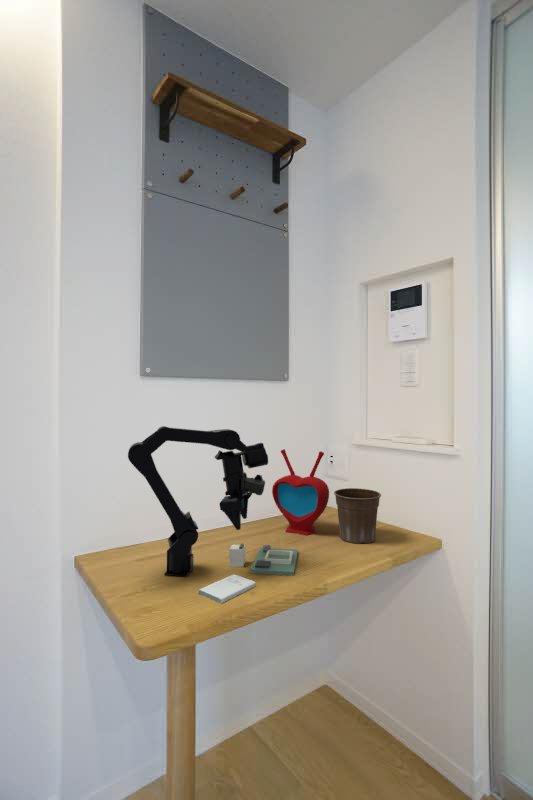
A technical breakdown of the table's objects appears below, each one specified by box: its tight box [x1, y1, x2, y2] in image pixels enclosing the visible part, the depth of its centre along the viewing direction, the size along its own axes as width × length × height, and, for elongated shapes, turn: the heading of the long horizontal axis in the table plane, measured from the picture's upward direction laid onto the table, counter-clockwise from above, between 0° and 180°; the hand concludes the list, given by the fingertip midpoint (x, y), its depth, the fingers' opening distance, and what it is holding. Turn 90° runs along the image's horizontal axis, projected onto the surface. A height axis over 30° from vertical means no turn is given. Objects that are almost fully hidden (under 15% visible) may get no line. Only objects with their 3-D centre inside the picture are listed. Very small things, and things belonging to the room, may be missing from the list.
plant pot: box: [333, 487, 382, 545], centre depth 145 cm, size 16×16×16 cm
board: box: [250, 544, 299, 577], centre depth 123 cm, size 12×18×3 cm, turn 172°
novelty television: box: [271, 449, 330, 536], centre depth 155 cm, size 21×13×30 cm, turn 62°
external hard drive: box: [197, 573, 257, 605], centre depth 104 cm, size 2×8×12 cm
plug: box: [228, 543, 246, 568], centre depth 121 cm, size 4×4×6 cm
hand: (241, 523), depth 121 cm, fingers open, 9 cm apart
